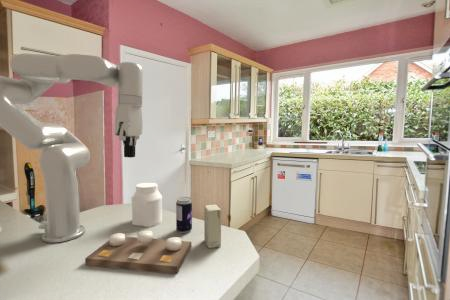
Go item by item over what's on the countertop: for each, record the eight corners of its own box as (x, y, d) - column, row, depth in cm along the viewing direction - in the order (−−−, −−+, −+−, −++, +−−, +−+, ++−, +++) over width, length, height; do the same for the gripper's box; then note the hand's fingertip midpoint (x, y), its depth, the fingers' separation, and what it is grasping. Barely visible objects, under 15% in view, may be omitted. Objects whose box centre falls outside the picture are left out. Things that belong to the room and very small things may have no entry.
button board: (85, 265, 67) (85, 257, 67) (114, 241, 81) (114, 235, 81) (177, 273, 64) (177, 265, 64) (191, 247, 78) (191, 241, 78)
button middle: (134, 242, 72) (134, 236, 72) (141, 236, 77) (141, 229, 76) (148, 243, 72) (148, 237, 72) (155, 237, 76) (155, 230, 76)
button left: (106, 245, 74) (106, 239, 73) (114, 238, 78) (114, 232, 78) (120, 246, 73) (120, 240, 73) (127, 239, 77) (127, 233, 77)
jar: (127, 224, 96) (126, 186, 94) (142, 215, 105) (142, 181, 103) (152, 228, 92) (152, 189, 91) (166, 219, 101) (166, 183, 100)
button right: (164, 250, 71) (164, 243, 71) (169, 242, 76) (169, 236, 75) (178, 251, 71) (178, 244, 71) (183, 243, 75) (183, 237, 75)
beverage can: (188, 234, 87) (188, 201, 86) (173, 233, 88) (173, 200, 87) (194, 228, 93) (194, 197, 92) (179, 226, 94) (179, 196, 93)
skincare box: (221, 247, 79) (221, 209, 77) (208, 248, 77) (208, 211, 76) (216, 238, 85) (216, 203, 84) (203, 239, 84) (204, 204, 82)
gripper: (131, 103, 89) (130, 154, 91) (105, 99, 74) (105, 159, 76) (151, 104, 88) (150, 155, 90) (128, 99, 73) (127, 160, 75)
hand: (129, 156), depth 83 cm, fingers closed
